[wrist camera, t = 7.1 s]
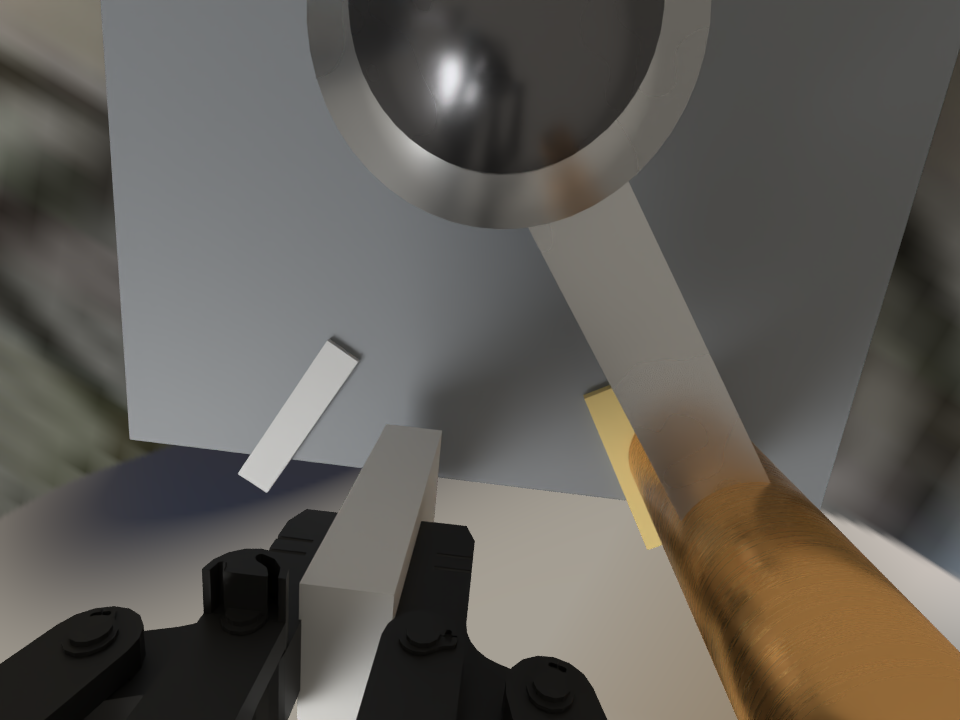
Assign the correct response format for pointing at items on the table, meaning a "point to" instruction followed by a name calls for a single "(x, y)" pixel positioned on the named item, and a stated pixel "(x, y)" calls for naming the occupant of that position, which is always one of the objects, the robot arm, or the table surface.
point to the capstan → (631, 315)
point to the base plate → (502, 249)
